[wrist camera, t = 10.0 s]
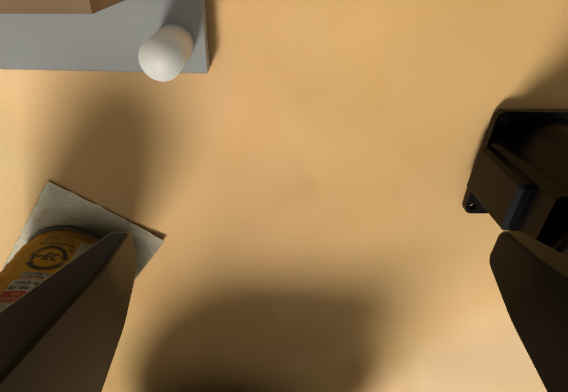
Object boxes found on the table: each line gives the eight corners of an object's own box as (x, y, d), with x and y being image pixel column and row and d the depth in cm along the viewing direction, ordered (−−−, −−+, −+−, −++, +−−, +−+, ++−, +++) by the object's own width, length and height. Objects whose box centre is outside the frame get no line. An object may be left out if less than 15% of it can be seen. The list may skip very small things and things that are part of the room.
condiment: (3, 268, 25) (-168, 482, 15) (49, 179, 22) (-134, 381, 12) (109, 311, 28) (22, 517, 18) (165, 237, 24) (97, 442, 14)
